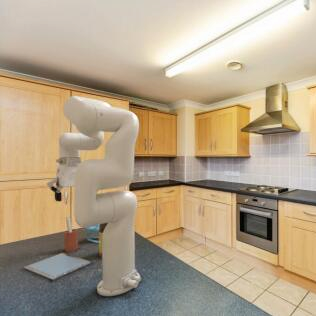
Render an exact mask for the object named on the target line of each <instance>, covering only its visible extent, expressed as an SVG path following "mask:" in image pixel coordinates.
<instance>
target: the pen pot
mask: <svg viewBox="0 0 316 316" xmlns="http://www.w3.org/2000/svg"><path fill="white" fill-rule="evenodd" d="M71 229H72V228H71ZM78 231H79V230H78V229H76V228H74V229H72V232H69V233H68V230H66V231H64V252H66V253H68V252H69V253H70V252H74V251H77V250H78V249H79V240H78V239H79V238H78V235H79V233H78Z"/></svg>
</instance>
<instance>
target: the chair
mask: <svg viewBox="0 0 316 316" xmlns="http://www.w3.org/2000/svg"><path fill="white" fill-rule="evenodd" d="M99 226H100V224H99V225H95V226H91V227H85V231H86V233H87V235H86V236H87V237H86V240H87V241H88V242H92V243H95V244H99V240H95V239H99V236H96V235H97V233H98V232H99ZM92 232H93V233H92ZM91 233H92V235H91Z"/></svg>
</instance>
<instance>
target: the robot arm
mask: <svg viewBox="0 0 316 316" xmlns="http://www.w3.org/2000/svg"><path fill="white" fill-rule="evenodd" d="M62 107H63V108H62V111H63V115H64V117H65V119H67V121H68V122H69V123H71V124H73V126H75V129H76V130H77V132H63V133H62V134H60V135H59V137H58V151H59V152H58V154H59V156H58V159H55V163H58V165H57V167H56V172H55V174H56V175H55V178H54V179H52V180H50V181H48V182H47V183H46V185H47V187H48V188H49V190H50V191H52V192H53V193H54V200H55V202H59V203H60V202H62V200H63V199H62V198H63V195H62V190H63V189H64V188H70V187H71V188H72V187H73V188H74V193H73V194H74V195H73V216H74V222H75V223H76V225H77V226H79V227H80V228H87V227H91V226H95V225H100V224H104V223H108V224H107V226H106V227H105V229H104V231H103V235H102V257H101V259H102V260H101V261H102V264H101V265H102V267H101V269H102V280H100V281H99V283H98V284H97V286H96V291H97V294H98V295H100V296H102V297H113V296H119V295H122V294H124V293H127V292H129V291H131V290H133V289H136V288H138V286H139V283H140V282H141V281H142V277H141V275H140V273H139V272H138V270H137V269H136V245H135V244H136V239H135V237H136V235H135V229H136V228H135V225H136V215H137V210H138V197H137V196H136V194H135V193H134V192H133V191H130V190H123V189H121V190H115V191H113V190H112V191H106V192H101V193H98V192H99V191H102V190H111V189H117V188H118V189H119V188H124V187H127V186H129V185H131V184H132V182H133V180H134V173H135V172H134V171H135V170H134V169H135V147H136V144H137V143H136V142H137V139H138V136H139V133H140V121H139V118H138V116H137V115H136V114H135V113H134V112H133V111H130V110H128V109H125V108H120V107H114V106H112V105H111V104H109V103H108V102H106V101H104V100H100V99H95V98H89V97H84V96H79V95H71V96H69V97H68V98H67V99H65V101H64V103H63V106H62ZM105 133H113V134H112V135H111V136H110V137H109V138H108V139H107V141H106V142H105V145H104V157H103V158H91V159H90V158H89V159H85V160H82V161H81V151H97V150H98V149H99V148H100V147H101V146H102V145H103V143H104V141H105ZM54 184H55V186H54Z"/></svg>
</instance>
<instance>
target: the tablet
mask: <svg viewBox="0 0 316 316" xmlns="http://www.w3.org/2000/svg"><path fill="white" fill-rule="evenodd" d="M91 264H92V261H90V260H87V259H83V258H81V257H78V256H75V255H71V254H68V253H65V252H61V253H58V254H56V255H53V256H50V257H48V258H44V259H41V260H39V261H37V262H34V263H31V264H28V265H26V266H23V267H22V268H23V269H25V270H27V271H29V272H32V273H34V274H36V275H39V276H41V277H44V278H46V279H48V280H49V281H51V282H54V281H56V280H59V279H61V278H63V277H66V276H68V275H70V274H72V273H74V272H77V271H78V270H80V269H81V270H82V269H83V268H85V267H88V266H89V265H91Z"/></svg>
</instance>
